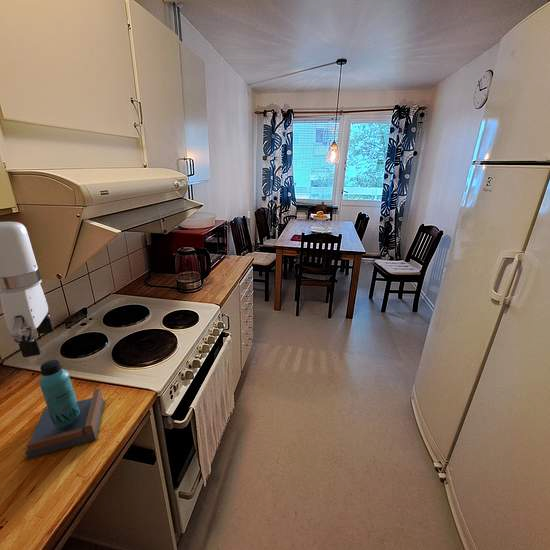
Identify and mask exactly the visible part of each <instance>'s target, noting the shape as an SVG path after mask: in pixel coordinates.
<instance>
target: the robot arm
mask: <svg viewBox="0 0 550 550" xmlns="http://www.w3.org/2000/svg"><path fill="white" fill-rule="evenodd" d="M40 273H41V272H40V270H39V266H38V264H37V260H36V257H35V253H34V250H33V247H32V243H31V240H30V237H29V233H28V230H27V227H26V226H25V225H24V224H23V223H21V222H19V221H0V304H1V309H2V314H3V317H4V320H5V323H6V326H7V327H6V328H7V330H8V332H9V333H10V336H11V337H12V339H13V340H14V342H15V343H16V344H17V345H18V347H19V350H20V353H21V355H22V357H23V358H29V357H36V356H40V355H41V353H42V351H41V349H40V345H39V342H38V339H37V338H35V330H37V331H36V332H37V333H38V334H39V335H43V334H50V333H51V334H52V333H53V332H54V331H55V329H54V326H53V322H52V319H51V313H50V312H49V305H48V302H47V297H46V295H45V292H44V290H43V288H42V285H41V283H43V282H42V277H41V274H40ZM24 327H25V328H24ZM27 332H28V335H27V334H24V333H27Z"/></svg>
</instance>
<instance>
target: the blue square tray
mask: <svg viewBox="0 0 550 550" xmlns="http://www.w3.org/2000/svg"><path fill="white" fill-rule="evenodd" d="M77 402H78V404H79V406H80V408H79V409H80V411H81V412H80V416H79V417H78V419H77V420H76V421H75V422H73V423H72V424H70V425H68V426H65V427H57V426H55V425H53V421H52V418H50V417H51V416H50V415H49V414H50V413H49V412H48V411H49V410H48V409H47V408H43V410H42V413H41V415H40V417H39V420H38V422H37V424H36V427H35V429H34V431H33V433H32V436H31V437H30V440H29V441H28V443H27V445H26V446H27V447H26V449H25V451H24V452H25V454H26V456H27V459H32V458H35V457H39V456H42V455H43V456H44V455H46V454H50V453H54V452H56V451H57V452H58V451H60V450H64V449H67V448H71V447H75V446H79V445H82V444H86V443H90V442H94V441H96V440H97V436H98V430H99V427H100V422H101V417H102V413H103V408H104V403H105V401H104V397H103V392H102V390H101V388H100V387H99V388H98V387H97V388H94V390H93V393H92V397H90V398H86V399H82V400H81V399H80V400H77Z"/></svg>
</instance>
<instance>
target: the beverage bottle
mask: <svg viewBox="0 0 550 550" xmlns="http://www.w3.org/2000/svg"><path fill="white" fill-rule="evenodd" d="M39 368H40V373H41V376H42V377H41V378H40V379H39V382H38V385H39V387H40V389H41V393H42V395H43V398H44V403H45V404H46V405H45V406H46V409H48V410H49V411H48V412H49V413H50V414H49V415H50V416H51V417H50V418H52V421H53V425H55V426H57V427H65V426H68V425H70V424H72V423H73V422H75V421H76V420H77V419H78V417H79V416H80V412H81V411H80V409H79V408H80V406H79V404H78V402H77V401H78V398H77V396H76V392H75V389H74V386H73V384H72V380H71V377H70V372H69V371H68V370H66V369H62V364H61V362H60V361H59V359H50V360H47V361H45V362H43V363H42V364H41V365H40V367H39Z"/></svg>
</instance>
